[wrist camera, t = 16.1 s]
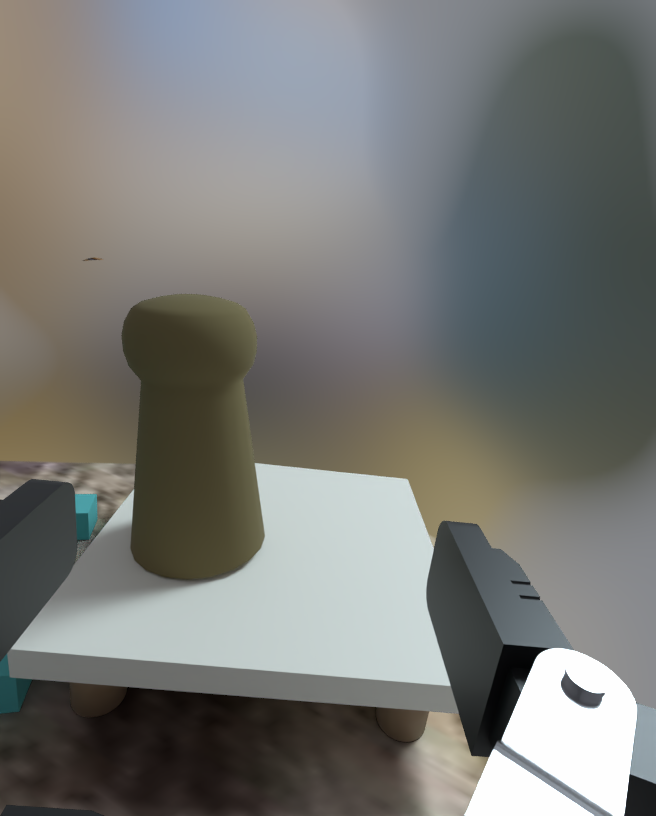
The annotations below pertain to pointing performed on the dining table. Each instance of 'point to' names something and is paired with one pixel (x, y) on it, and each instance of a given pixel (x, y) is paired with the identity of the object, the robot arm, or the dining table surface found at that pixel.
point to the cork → (193, 436)
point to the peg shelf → (261, 610)
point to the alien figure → (4, 690)
